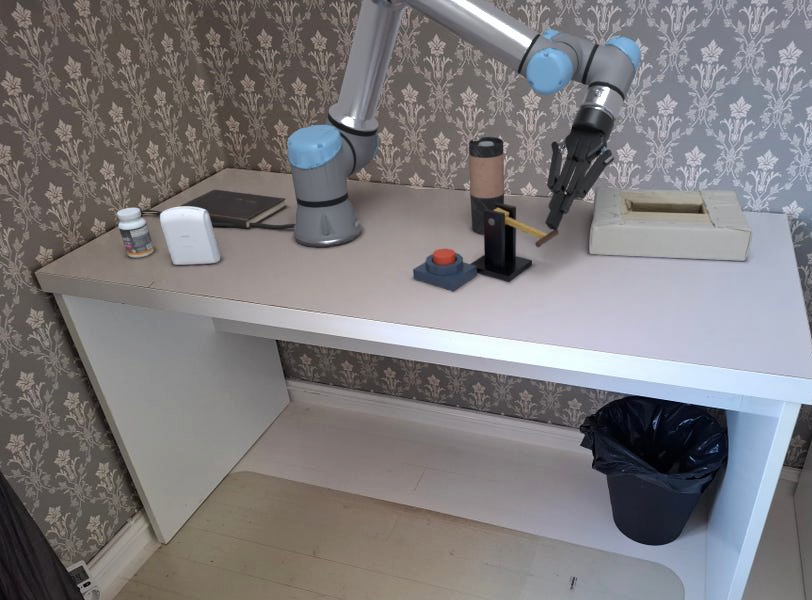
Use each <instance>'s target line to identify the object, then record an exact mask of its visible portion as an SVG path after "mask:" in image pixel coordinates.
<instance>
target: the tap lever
mask: <svg viewBox="0 0 812 600" xmlns="http://www.w3.org/2000/svg"><path fill="white" fill-rule="evenodd" d="M493 211H498V212H502V213H505V225H506V224H508V225H510V226H512V227H514V228H516V230H519V231H522V232H523V233H526V234H528V235H531V236H533V237H534V238H537V239H538V240H536V241H535V242H534V245H535V247H537V248H541V247H542V246H544V245H545V244H547V243H548V242H549V241H551V240H552V239H554V238H556V236H558V235H559V234H560V231H559V229H557V230H551V231H550V232H548V233H547V232H544V231H541V230H539V229H537V228H535V227H532V226H530V225H527V224H525V223H524V222H521V221H519V220H517V219H516V220H514V219H512V218H509V212H507V211H505V210H502V209H500V208H496V209H495V210H493Z"/></svg>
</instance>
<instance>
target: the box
mask: <svg viewBox="0 0 812 600" xmlns="http://www.w3.org/2000/svg"><path fill="white" fill-rule="evenodd" d="M589 228H590V230H589V237H588V238H589V241H588V253H589V254H590V255H597V256H598V255H601V256H623V257H625V256H626V257H643V258H644V257H646V258H647V257H648V258H666V259H667V258H668V259H669V258H670V259H691V260H692V259H693V260H711V261H712V260H714V261H715V260H716V261H735V262H736V261H738V262H739V261H740V262H744V261H746V260H747V257H748V254H749V251H750V248H751V244H752V239H753V230H752V229H751V227H750V226H749V223H748V221H747V218H746V216H745V214H744V211H743V209H742V206H741V203H740V201H739V199H738V195H737V192H736V191H734V190H728V189H715V190H714V189H711V190H709V189H701V188H700V189H698V190H677V189H676V190H672V189H647V188H645V189H643V188H620V187H618V186H617V187H616V186H614V187H613V186H611V187H610V186H597V187H595V189H594V196H593V217H592V222H591V224H590V227H589Z"/></svg>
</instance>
